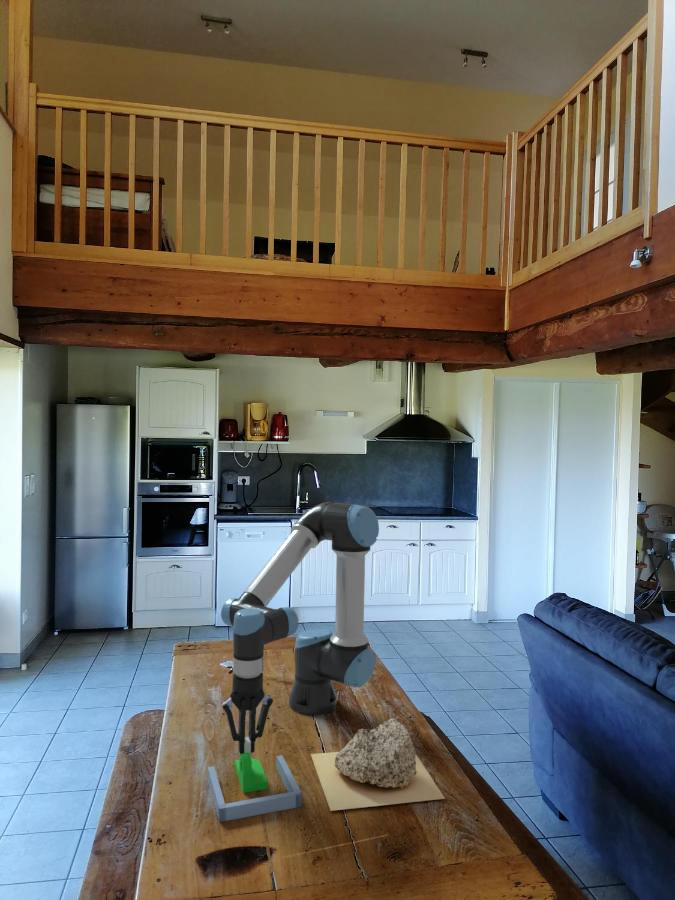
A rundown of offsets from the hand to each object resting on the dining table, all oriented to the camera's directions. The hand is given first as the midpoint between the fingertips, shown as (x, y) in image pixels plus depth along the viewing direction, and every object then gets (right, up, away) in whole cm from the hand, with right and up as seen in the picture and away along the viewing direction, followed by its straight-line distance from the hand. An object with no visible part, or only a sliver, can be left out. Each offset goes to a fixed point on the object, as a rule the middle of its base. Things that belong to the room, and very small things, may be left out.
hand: (246, 765), depth 158 cm
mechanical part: (+1, -3, -1) cm, 3 cm away
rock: (+31, -8, +4) cm, 32 cm away
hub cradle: (+3, -3, -7) cm, 8 cm away
